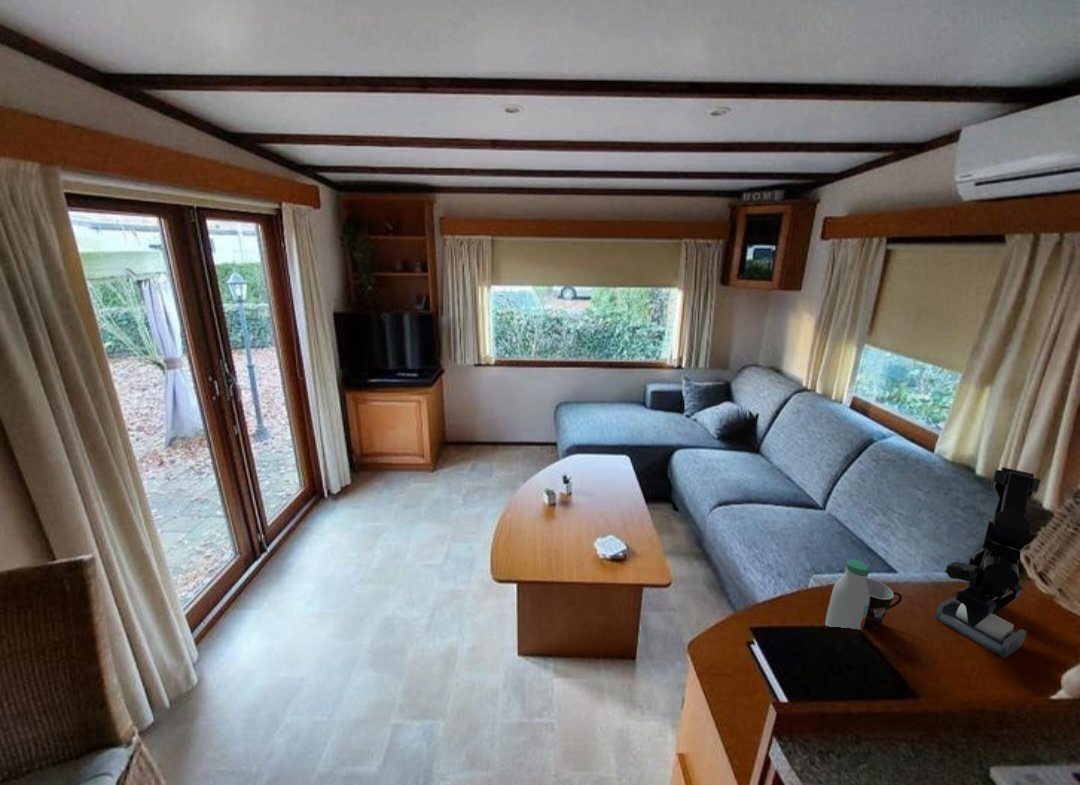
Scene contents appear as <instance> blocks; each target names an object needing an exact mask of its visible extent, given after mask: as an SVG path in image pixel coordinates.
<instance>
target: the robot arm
mask: <svg viewBox="0 0 1080 785" xmlns="http://www.w3.org/2000/svg"><path fill="white" fill-rule="evenodd" d="M991 481H992V482H993V483H994V485H993V489H994V492H995V493H996V495H997V498H998V499H997V502H996V505H995V506H996V507H995V510H994V513H993V516H992V520H989V521H988V522H987V525H986V529H985V533H984V537H983V540H982V545H981V547H982V548H980V549H979V550H976V552H974V554H973V557H969V559H968V560H967V563H964V562H960V561H959V562H958V561H954V562H951V563H949V564H947V565H946V567H945V568H946V569H945V571H944V572H945V574H947V576H948V577H949V578H950V579H953V580H955V579H957V580H962V581H965V582H968V584H967V587H963V588H961V589H959V590H957V591H956V594H955V595H956V596H955V595H954V596H955V598H956V600H958V601H959V603H960V604H961V603H963V604H964V605H965V607H966V611H967V619H968V624H969V625H970V626H972V627H974V626H976V625H977V624H978V623H980V622H981V621H982V620H984V619H985V618H986V617H987V616H989V615H990V614H991V613H992V614H994V615H996V614H997V613H998V612H999V611H1002V609H1004V608H1005V607H1007V606H1009V604H1011V603H1012V602H1013V601H1015V600H1016V599H1018V597H1019V596H1021V595H1022V592H1023V587H1022V585H1021V584H1020V583H1019V582H1020V574H1019V573H1020V572H1019V565H1018V564H1019V561H1021V560H1020V552H1021V551H1022V550H1021V549H1022V548H1023V547H1024V546H1025V545H1027V544H1028V543H1030V542H1031V541H1032V540H1033V539H1034V538H1035V539H1036V535H1035V534H1034V533H1032V523H1031V522H1030V521H1029V520H1028V518H1027V517H1026V511H1027V506H1028V501H1029V498H1030V497H1031V496H1032V494H1033V492H1035V493H1038V490H1039V488H1040V483H1041V479H1040V478H1035V475H1034V473H1030V472H1027V471H1022V470H1018V469H1014V468H1013V469H1012V468H1009V467H1005V466H1003V467H1001V469H995V470H994V472H993V476H992V479H991Z"/></svg>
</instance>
